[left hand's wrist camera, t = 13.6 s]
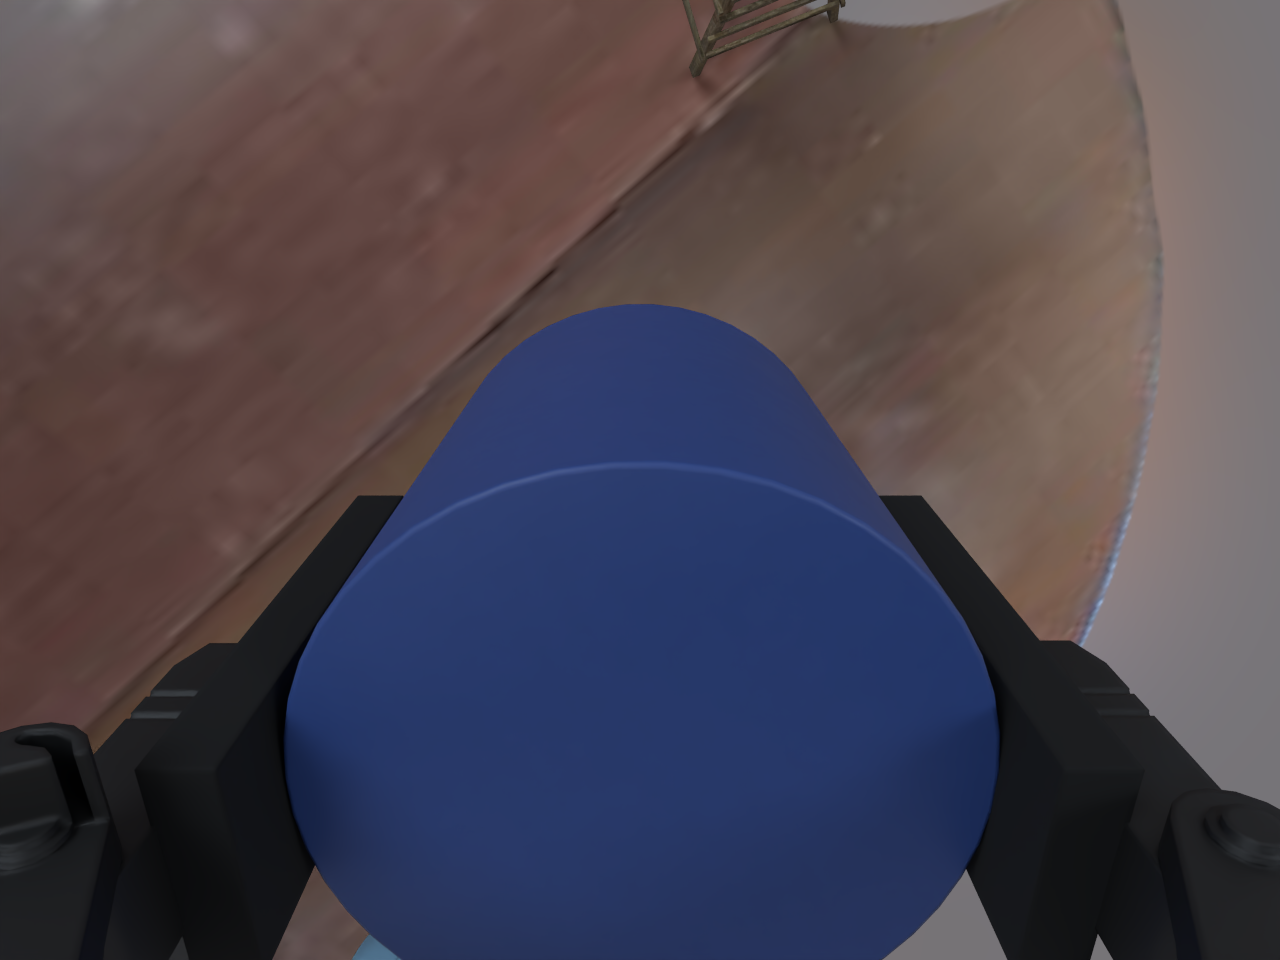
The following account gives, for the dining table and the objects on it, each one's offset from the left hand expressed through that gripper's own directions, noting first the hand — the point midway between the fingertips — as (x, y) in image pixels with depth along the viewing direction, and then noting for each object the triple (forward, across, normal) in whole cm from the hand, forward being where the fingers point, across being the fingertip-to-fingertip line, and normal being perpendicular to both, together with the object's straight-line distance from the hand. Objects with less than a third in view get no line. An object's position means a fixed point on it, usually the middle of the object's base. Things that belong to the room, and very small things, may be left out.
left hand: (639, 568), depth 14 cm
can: (+3, 0, 0) cm, 3 cm away
